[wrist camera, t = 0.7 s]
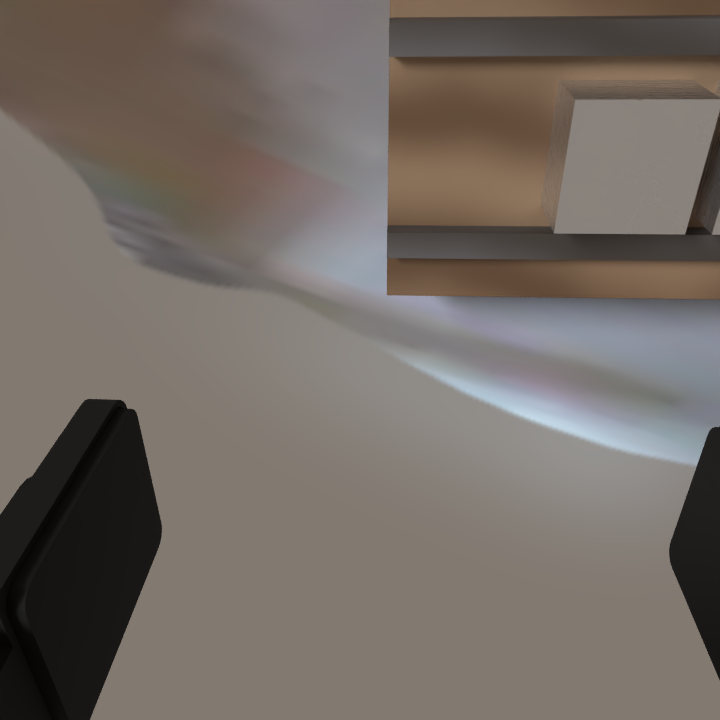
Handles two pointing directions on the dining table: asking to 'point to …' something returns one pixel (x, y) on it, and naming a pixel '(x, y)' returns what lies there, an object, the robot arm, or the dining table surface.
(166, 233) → the dining table surface
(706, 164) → the chip
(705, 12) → the slot board
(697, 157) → the chip
